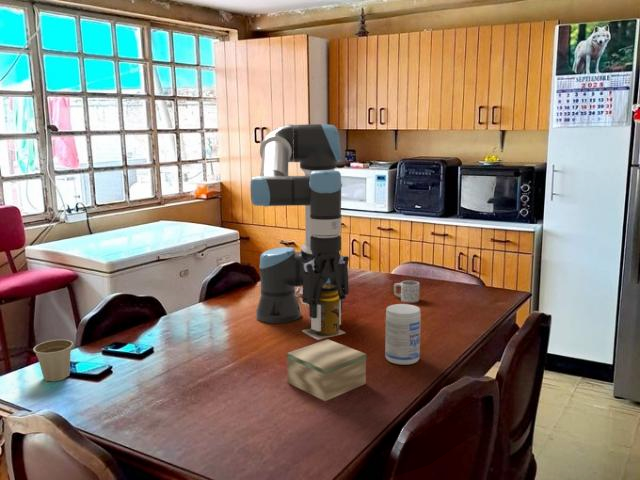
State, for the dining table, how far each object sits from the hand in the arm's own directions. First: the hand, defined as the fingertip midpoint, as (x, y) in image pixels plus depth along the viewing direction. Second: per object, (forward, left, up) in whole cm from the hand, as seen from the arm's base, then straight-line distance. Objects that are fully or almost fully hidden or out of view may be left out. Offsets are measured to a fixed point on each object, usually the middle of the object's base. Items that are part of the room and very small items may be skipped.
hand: (326, 326), depth 147 cm
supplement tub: (+3, +26, -15) cm, 30 cm away
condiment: (0, -1, -2) cm, 2 cm away
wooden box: (0, 0, -15) cm, 15 cm away
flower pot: (-51, -49, -15) cm, 72 cm away
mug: (-33, +71, -15) cm, 80 cm away
